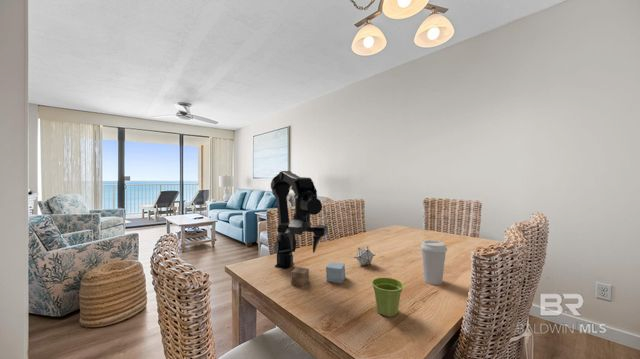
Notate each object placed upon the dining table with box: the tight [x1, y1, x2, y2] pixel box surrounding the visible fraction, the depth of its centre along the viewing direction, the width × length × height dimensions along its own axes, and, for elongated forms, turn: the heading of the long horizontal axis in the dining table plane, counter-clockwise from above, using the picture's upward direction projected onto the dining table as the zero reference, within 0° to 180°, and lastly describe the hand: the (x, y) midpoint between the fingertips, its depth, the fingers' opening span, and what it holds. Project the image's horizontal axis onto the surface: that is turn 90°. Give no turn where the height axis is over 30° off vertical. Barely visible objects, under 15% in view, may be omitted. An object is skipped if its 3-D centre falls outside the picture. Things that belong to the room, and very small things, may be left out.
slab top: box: [325, 261, 346, 274], centre depth 100 cm, size 6×6×2 cm
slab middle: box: [325, 268, 346, 279], centre depth 100 cm, size 6×6×2 cm
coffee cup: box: [419, 239, 448, 286], centre depth 98 cm, size 10×10×15 cm
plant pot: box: [371, 276, 404, 317], centre depth 77 cm, size 9×9×9 cm
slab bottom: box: [326, 273, 346, 284], centre depth 100 cm, size 6×6×2 cm
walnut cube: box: [290, 266, 310, 288], centre depth 97 cm, size 5×5×5 cm
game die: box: [353, 246, 376, 267], centre depth 115 cm, size 9×8×10 cm
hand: (302, 251), depth 97 cm, fingers open, 9 cm apart
